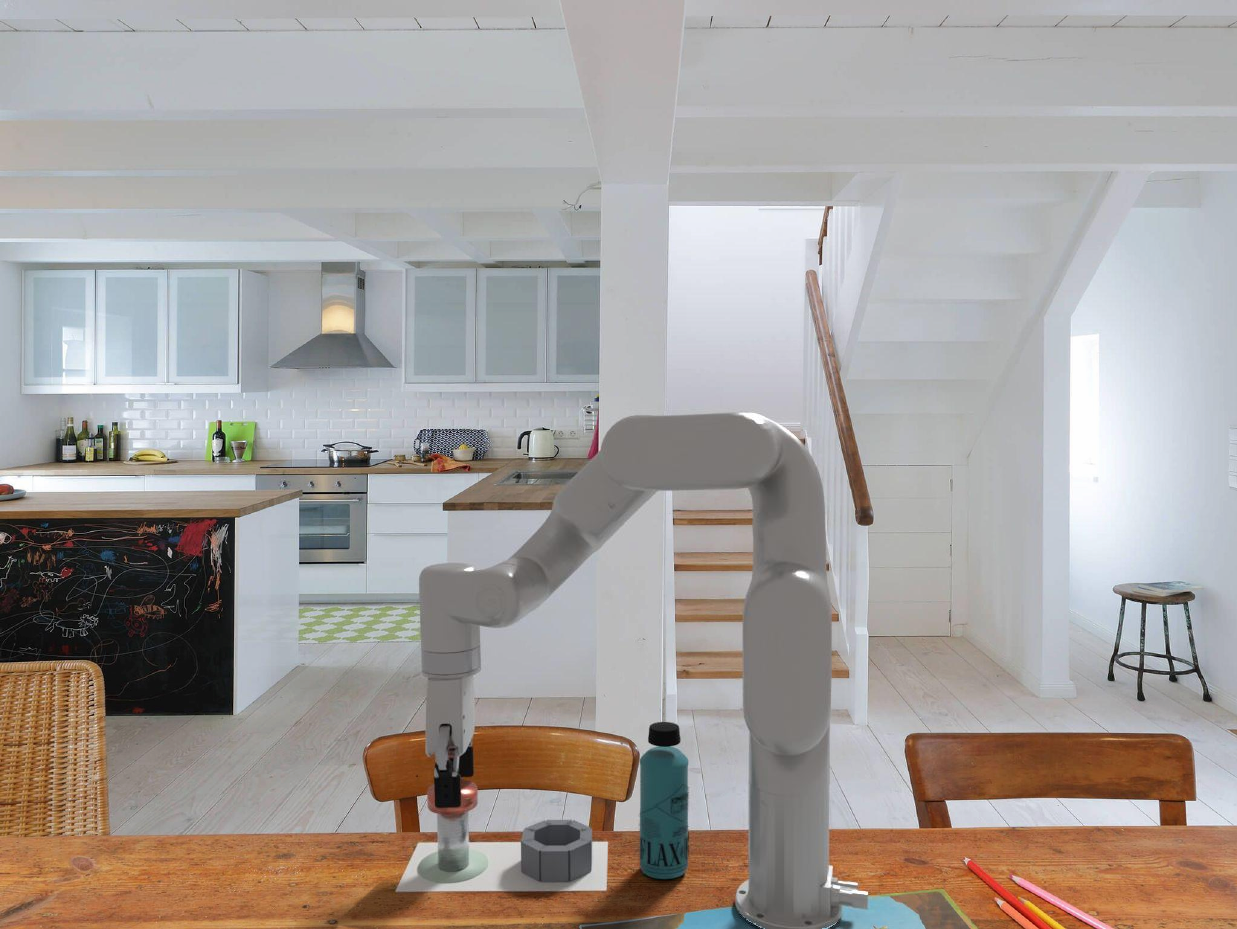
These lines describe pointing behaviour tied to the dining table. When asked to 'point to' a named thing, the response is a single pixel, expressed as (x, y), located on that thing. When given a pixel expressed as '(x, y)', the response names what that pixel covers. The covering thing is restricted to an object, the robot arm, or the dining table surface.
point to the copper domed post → (454, 828)
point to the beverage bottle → (664, 805)
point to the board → (517, 863)
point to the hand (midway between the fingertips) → (455, 790)
